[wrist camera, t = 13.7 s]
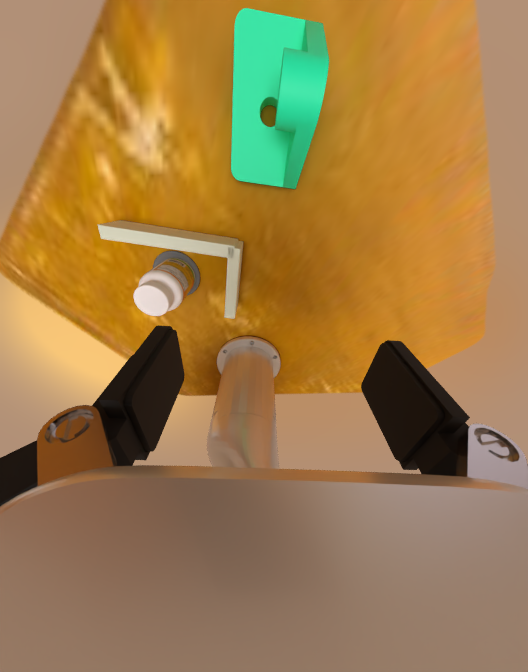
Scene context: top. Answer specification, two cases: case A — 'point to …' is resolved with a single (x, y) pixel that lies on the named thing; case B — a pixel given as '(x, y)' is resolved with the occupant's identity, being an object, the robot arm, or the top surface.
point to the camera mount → (275, 95)
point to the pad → (185, 258)
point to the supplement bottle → (164, 287)
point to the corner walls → (184, 249)
